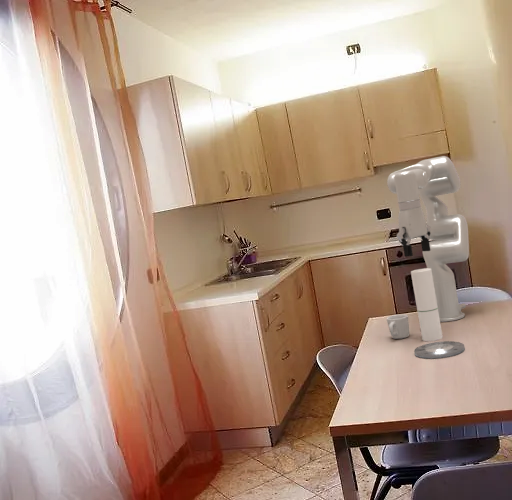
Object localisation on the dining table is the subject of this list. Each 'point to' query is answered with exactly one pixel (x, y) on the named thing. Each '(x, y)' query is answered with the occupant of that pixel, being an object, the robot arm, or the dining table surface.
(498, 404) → the dining table surface
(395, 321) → the cup
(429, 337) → the cylindrical container
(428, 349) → the flange plate
